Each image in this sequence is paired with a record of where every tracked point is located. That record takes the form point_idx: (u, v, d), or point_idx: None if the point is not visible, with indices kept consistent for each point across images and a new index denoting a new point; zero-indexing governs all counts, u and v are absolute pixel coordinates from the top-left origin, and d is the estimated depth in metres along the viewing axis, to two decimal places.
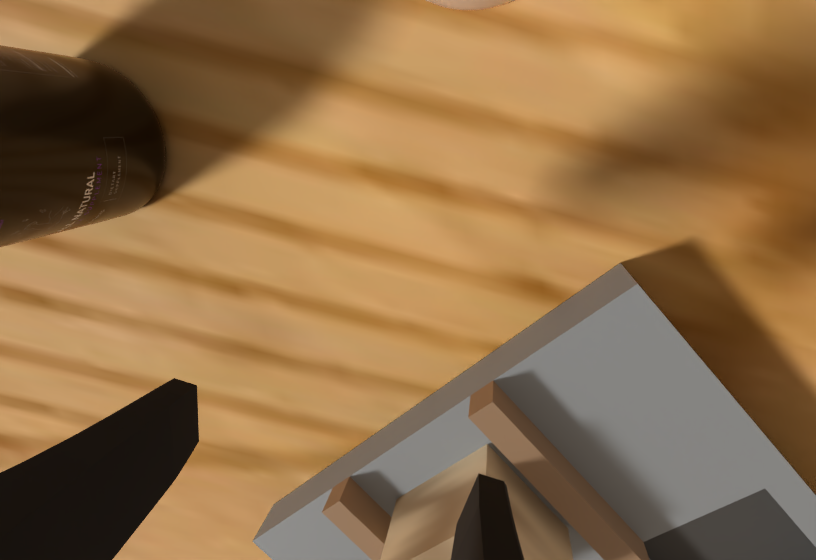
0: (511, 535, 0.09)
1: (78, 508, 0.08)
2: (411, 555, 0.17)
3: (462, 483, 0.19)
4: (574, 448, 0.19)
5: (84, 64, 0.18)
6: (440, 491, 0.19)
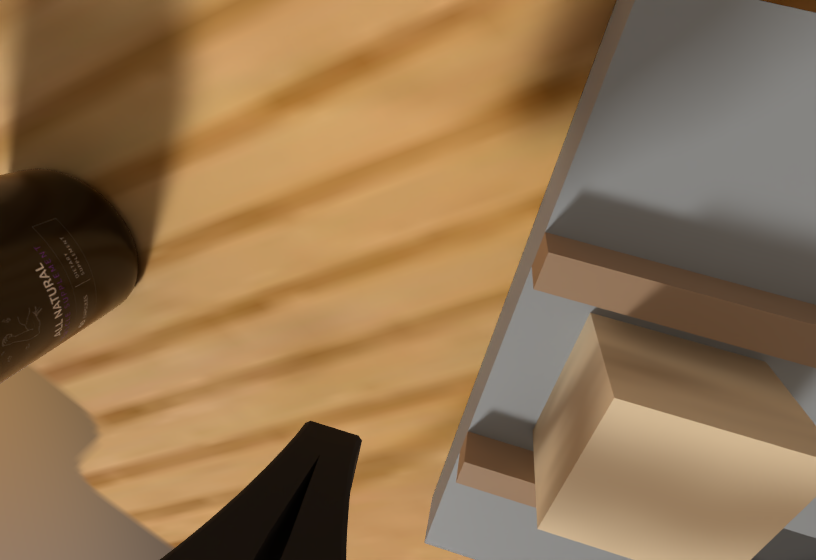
0: (342, 481, 0.09)
1: None
2: (559, 484, 0.13)
3: (581, 372, 0.14)
4: (705, 254, 0.13)
5: None
6: (564, 396, 0.15)
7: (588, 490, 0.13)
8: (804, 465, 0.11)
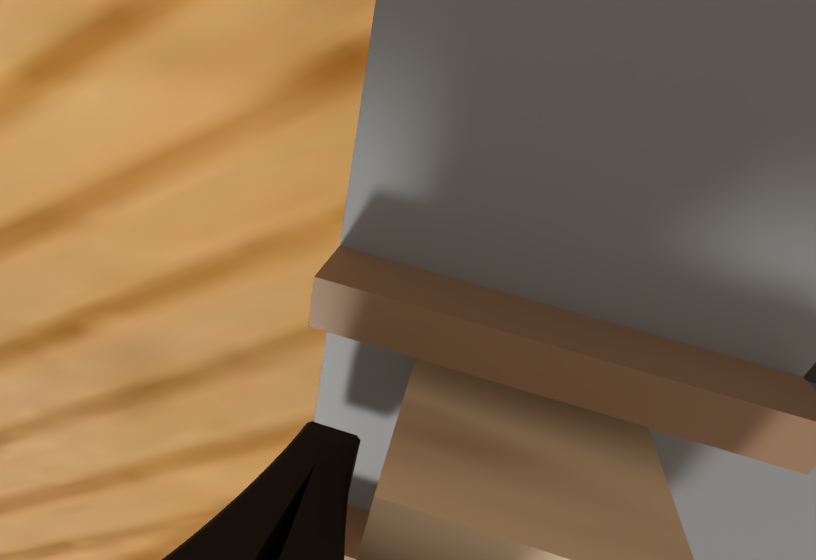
0: (340, 480, 0.09)
1: None
2: None
3: None
4: (547, 278, 0.10)
5: None
6: None
7: None
8: None
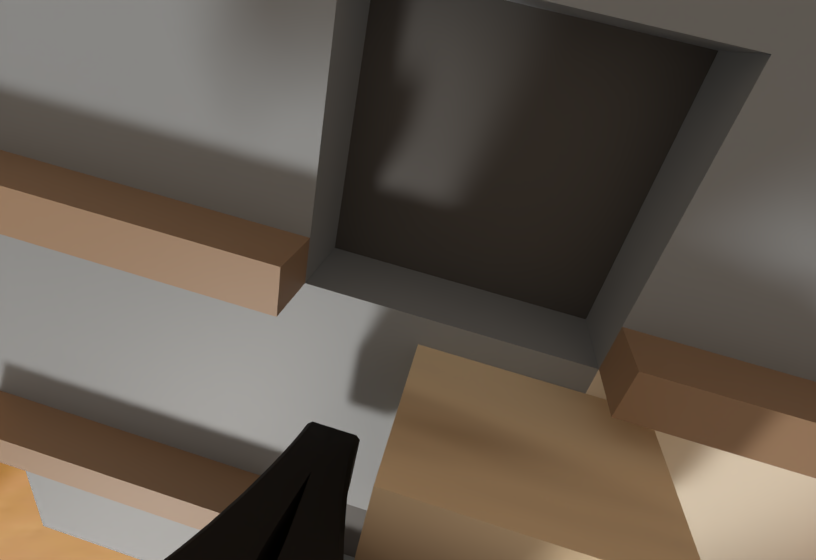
0: (339, 480, 0.09)
1: None
2: None
3: None
4: (80, 148, 0.10)
5: None
6: None
7: None
8: None
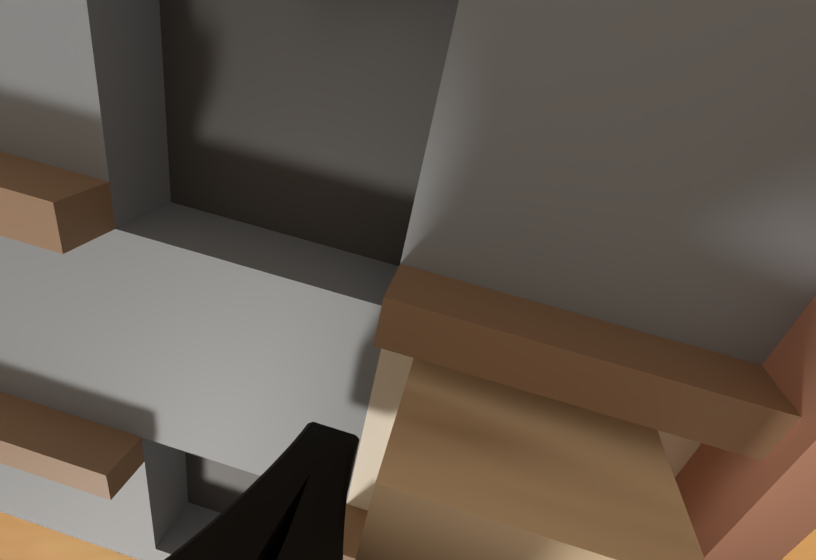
0: (339, 480, 0.09)
1: None
2: None
3: None
4: None
5: None
6: None
7: None
8: None
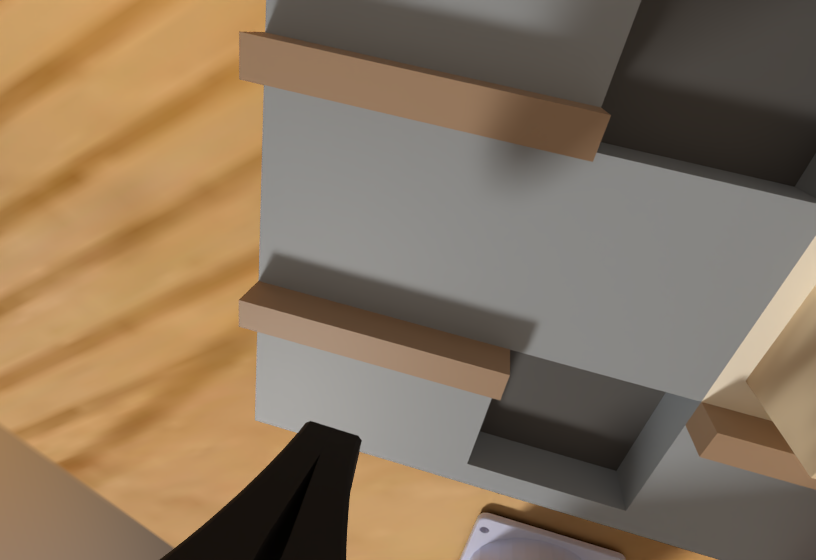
0: (342, 481, 0.09)
1: None
2: None
3: None
4: (413, 42, 0.13)
5: None
6: None
7: None
8: None
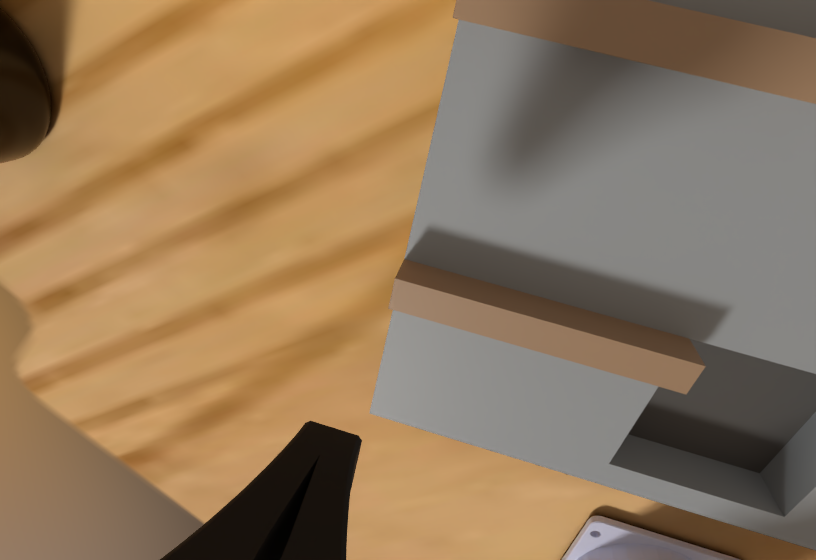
0: (342, 481, 0.09)
1: None
2: None
3: None
4: None
5: None
6: None
7: None
8: None
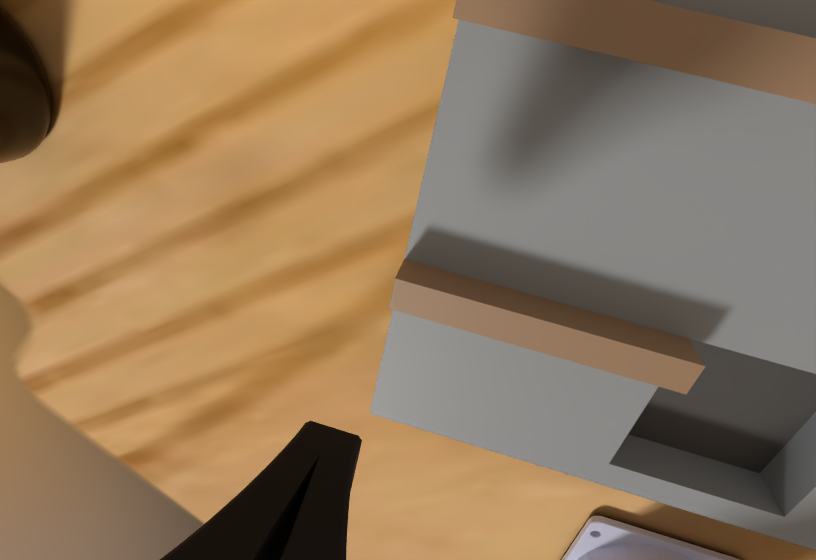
0: (342, 481, 0.09)
1: None
2: None
3: None
4: None
5: None
6: None
7: None
8: None
